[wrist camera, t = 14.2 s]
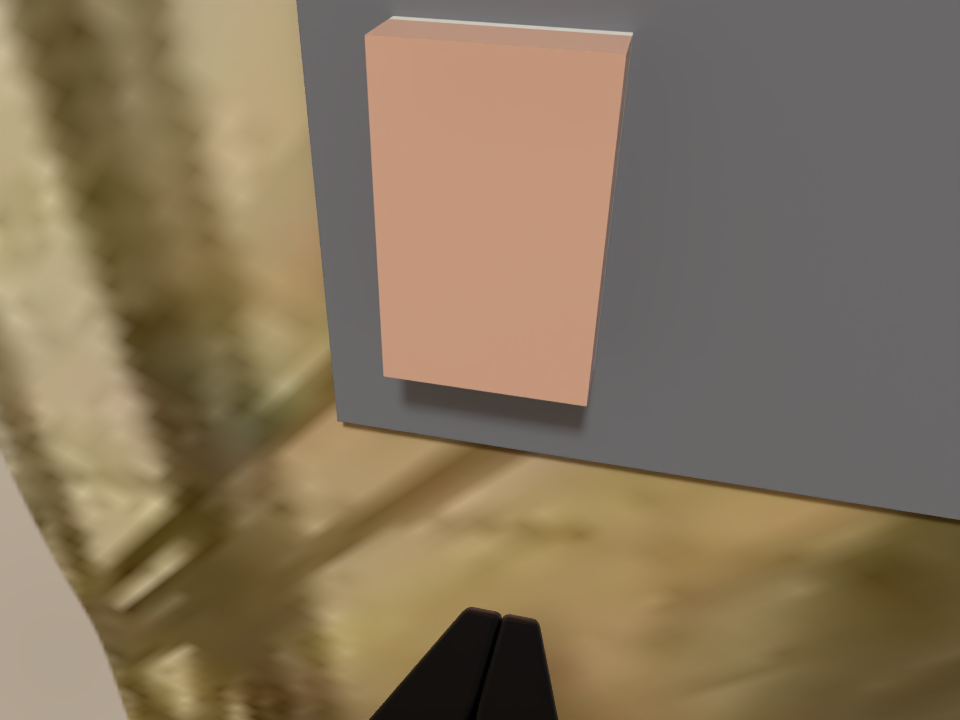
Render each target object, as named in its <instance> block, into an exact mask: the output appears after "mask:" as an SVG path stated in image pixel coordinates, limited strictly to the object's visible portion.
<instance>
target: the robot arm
mask: <svg viewBox="0 0 960 720" xmlns="http://www.w3.org/2000/svg"><path fill="white" fill-rule="evenodd" d="M369 720H558V717H557V712H556V707H555V701H554V696H553V691H552V686H551V681H550V676H549V670H548V665H547V660H546V655H545V650H544V644H543V639H542V634H541V629H540V625H539V623H538V621H536V620H535V619H532V618H527V617H522V616H516V615H511V614H508V615H505V616H504V617H503V618H502V616H501V614H500V613H498V612H496V611H491V610H485V609H480V608H475V607H469V608H467V609H465V610H464V611H463V612H462V613H461V614H460V615H459V616H458V617H457V619H456V620H455V621H454V622H453V623H452V624H451V625H450V627H449V628H448V629H447V630H446V631H445V632H444V634H443V635H442V636H441V637H440V638H439V639H438V641H437V642H436V643H435V644H434V645H433V646H432V647H431V649H430V650H429V651H428V652H427V653H426V654H425V656H424V657H423V658H422V659H421V660H420V661H419V663H418V664H417V665H416V666H415V667H414V668H413V669H412V671H411V672H410V673H409V674H408V675H407V676H406V678H405V679H404V680H403V681H402V682H401V683H400V684H399V686H398V687H397V688H396V689H395V690H394V691H393V693H392V694H391V695H390V696H389V697H388V698H387V700H386V701H385V702H384V703H383V704H382V705H381V706H380V708H379V709H378V710H377V711H376V712H375V713H374V715H373V716H372V717H371V718H370V719H369Z"/></svg>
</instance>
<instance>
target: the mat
mask: <svg viewBox="0 0 960 720" xmlns="http://www.w3.org/2000/svg"><path fill="white" fill-rule="evenodd" d="M296 1H297V11H298V22H299V32H300V42H301V52H302V62H303V73H304V83H305V93H306V103H307V114H308V124H309V134H310V144H311V155H312V165H313V175H314V185H315V196H316V206H317V216H318V226H319V237H320V247H321V257H322V267H323V278H324V288H325V298H326V308H327V318H328V329H329V339H330V349H331V359H332V370H333V380H334V390H335V400H336V411H337V421H341V422H347V423H353V424H359V425H366V426H372V427H378V428H385V429H391V430H397V431H403V432H410V433H416V434H422V435H429V436H435V437H441V438H448V439H454V440H460V441H466V442H473V443H479V444H485V445H492V446H498V447H504V448H510V449H517V450H523V451H529V452H536V453H542V454H548V455H554V456H561V457H567V458H573V459H580V460H586V461H592V462H599V463H605V464H611V465H617V466H624V467H630V468H636V469H643V470H649V471H655V472H661V473H668V474H674V475H680V476H687V477H693V478H699V479H705V480H712V481H718V482H724V483H731V484H737V485H743V486H750V487H756V488H762V489H768V490H775V491H781V492H787V493H794V494H800V495H806V496H812V497H819V498H825V499H831V500H838V501H844V502H850V503H856V504H863V505H869V506H875V507H882V508H888V509H894V510H900V511H907V512H913V513H919V514H926V515H932V516H938V517H945V518H951V519H957V520H960V0H296ZM392 16H401V17H415V18H430V19H444V20H458V21H473V22H487V23H502V24H516V25H531V26H545V27H560V28H574V29H588V30H603V31H617V32H632V33H633V39H632V48H631V57H630V65H629V74H628V83H627V91H626V100H625V108H624V117H623V126H622V134H621V143H620V152H619V160H618V169H617V178H616V186H615V195H614V203H613V212H612V221H611V229H610V238H609V247H608V255H607V264H606V273H605V281H604V290H603V298H602V307H601V316H600V324H599V333H598V342H597V350H596V359H595V366H594V371H593V376H592V382H591V387H590V392H589V397H588V402H587V406H580V405H573V404H567V403H560V402H553V401H546V400H540V399H533V398H526V397H519V396H513V395H506V394H499V393H492V392H486V391H479V390H472V389H465V388H459V387H452V386H445V385H438V384H432V383H425V382H418V381H411V380H405V379H398V378H391V377H385V376H384V375H383V357H382V339H381V321H380V303H379V285H378V267H377V249H376V231H375V213H374V196H373V178H372V160H371V142H370V124H369V106H368V88H367V70H366V52H365V34H367V33H368V32H370V31H371V30H373V29H374V28H376V27H377V26H379V25H380V24H382V23H383V22H385V21H386V20H388V19H389V18H391V17H392Z"/></svg>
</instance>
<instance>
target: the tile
mask: <svg viewBox="0 0 960 720" xmlns="http://www.w3.org/2000/svg"><path fill="white" fill-rule="evenodd" d="M632 39H633V33H632V32H617V31H603V30H588V29H574V28H560V27H545V26H531V25H516V24H502V23H487V22H473V21H458V20H444V19H430V18H415V17H401V16H392V17H391V18H389V19H388V20H386V21H385V22H383V23H382V24H380V25H379V26H377V27H376V28H374V29H373V30H371V31H370V32H368V33H367V34H365V52H366V70H367V88H368V106H369V124H370V142H371V160H372V178H373V196H374V213H375V231H376V249H377V267H378V285H379V303H380V321H381V339H382V357H383V375H384V376H385V377H391V378H398V379H405V380H411V381H418V382H425V383H432V384H438V385H445V386H452V387H459V388H465V389H472V390H479V391H486V392H492V393H499V394H506V395H513V396H519V397H526V398H533V399H540V400H546V401H553V402H560V403H567V404H573V405H580V406H587V402H588V397H589V392H590V387H591V382H592V376H593V371H594V366H595V359H596V350H597V342H598V333H599V324H600V316H601V307H602V298H603V290H604V281H605V273H606V264H607V255H608V247H609V238H610V229H611V221H612V212H613V203H614V195H615V186H616V178H617V169H618V160H619V152H620V143H621V134H622V126H623V117H624V108H625V100H626V91H627V83H628V74H629V65H630V57H631V48H632Z"/></svg>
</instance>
